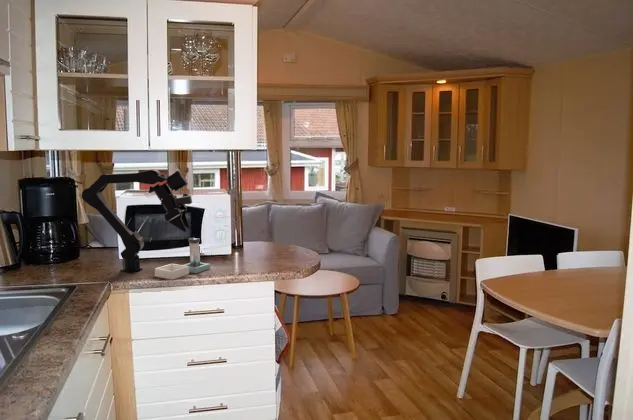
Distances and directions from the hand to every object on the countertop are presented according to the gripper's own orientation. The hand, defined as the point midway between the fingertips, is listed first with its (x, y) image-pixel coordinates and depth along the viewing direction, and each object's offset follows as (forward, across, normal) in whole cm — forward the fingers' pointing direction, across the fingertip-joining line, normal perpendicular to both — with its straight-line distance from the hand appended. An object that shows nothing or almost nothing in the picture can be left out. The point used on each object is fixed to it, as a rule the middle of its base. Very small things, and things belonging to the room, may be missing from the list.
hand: (187, 229), depth 212 cm
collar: (+16, -2, +6) cm, 17 cm away
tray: (+12, -9, +13) cm, 20 cm away
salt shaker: (+16, -2, +6) cm, 17 cm away
